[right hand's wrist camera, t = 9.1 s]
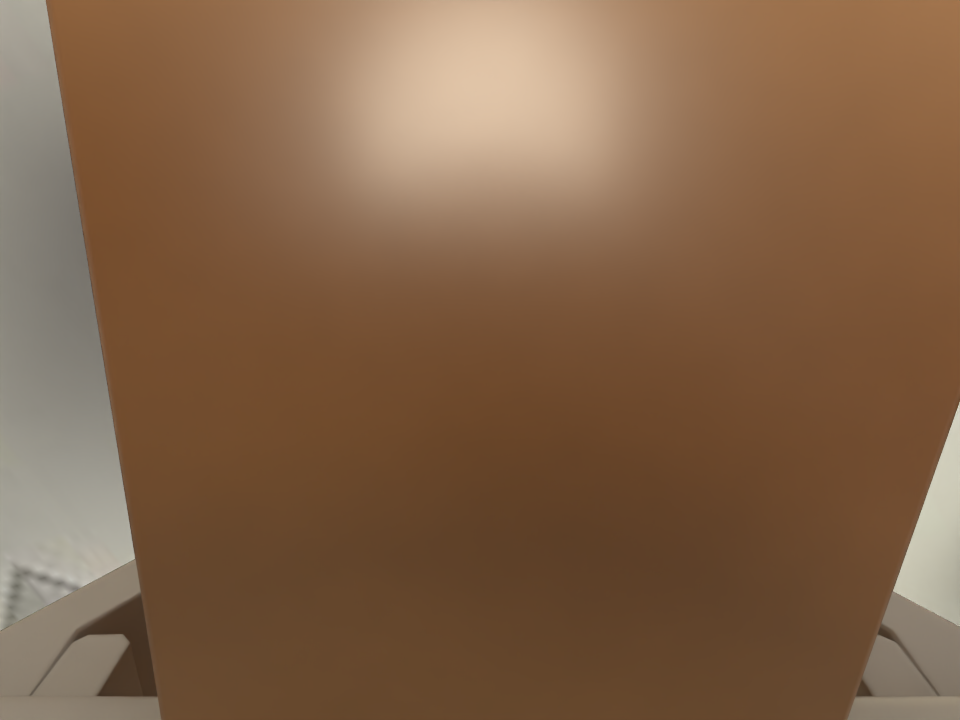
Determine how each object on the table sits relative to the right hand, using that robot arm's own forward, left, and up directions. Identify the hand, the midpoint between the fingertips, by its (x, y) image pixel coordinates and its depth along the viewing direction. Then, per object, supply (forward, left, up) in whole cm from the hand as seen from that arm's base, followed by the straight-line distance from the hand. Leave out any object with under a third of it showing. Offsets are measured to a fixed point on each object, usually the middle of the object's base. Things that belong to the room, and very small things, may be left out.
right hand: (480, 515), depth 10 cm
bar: (+3, +9, -4) cm, 11 cm away
